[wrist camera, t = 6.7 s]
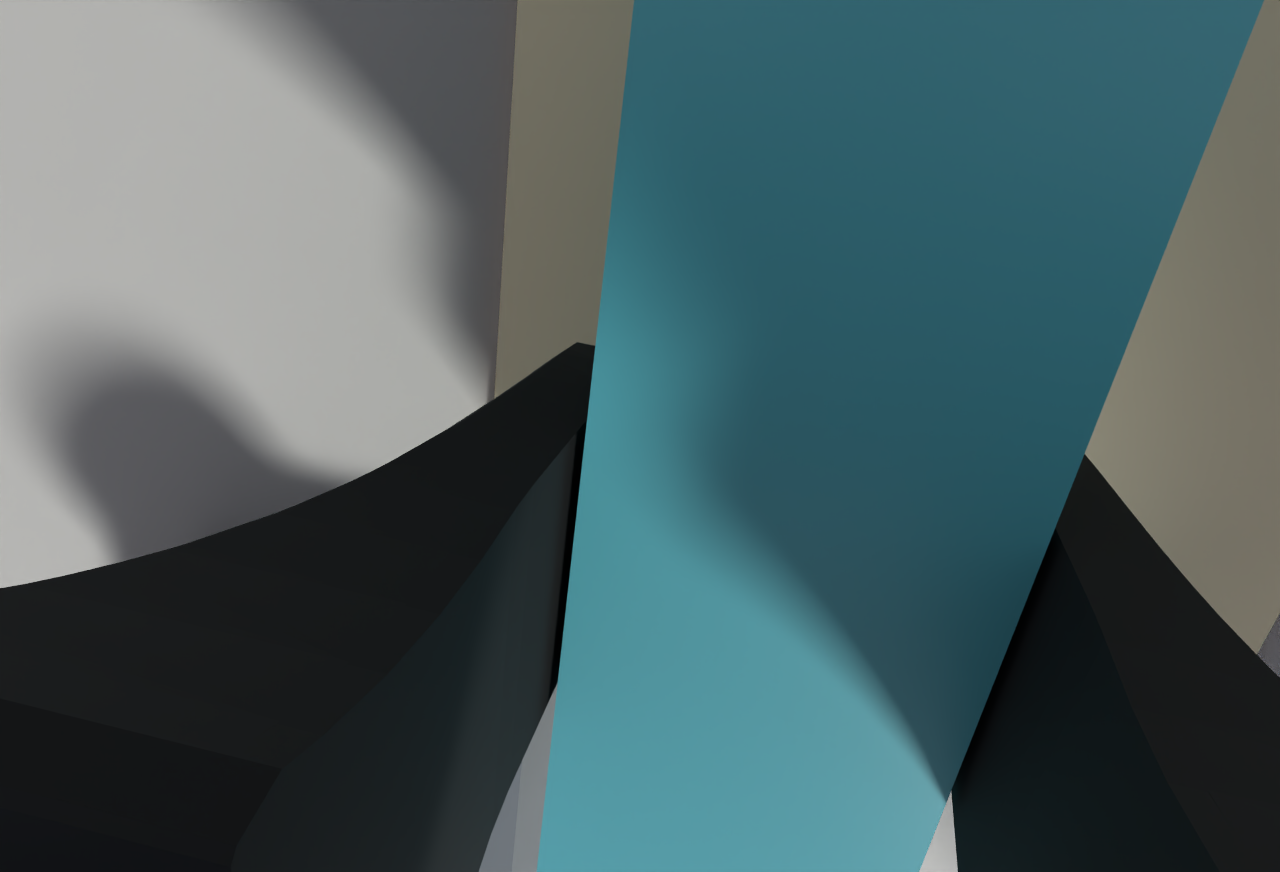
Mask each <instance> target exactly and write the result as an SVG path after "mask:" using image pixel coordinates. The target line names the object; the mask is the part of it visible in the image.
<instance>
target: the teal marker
mask: <svg viewBox="0 0 1280 872" xmlns="http://www.w3.org/2000/svg"><path fill="white" fill-rule="evenodd" d="M1263 2H1264V0H634V5H633V14H632V23H631V32H630V41H629V50H628V59H627V68H626V77H625V86H624V95H623V104H622V113H621V122H620V130H619V139H618V148H617V157H616V166H615V175H614V184H613V193H612V202H611V211H610V220H609V229H608V238H607V247H606V256H605V265H604V273H603V282H602V291H601V300H600V309H599V318H598V327H597V336H596V345H595V354H594V363H593V372H592V381H591V390H590V399H589V408H588V417H587V425H586V434H585V443H584V452H583V461H582V470H581V479H580V488H579V497H578V506H577V515H576V524H575V533H574V542H573V551H572V560H571V568H570V577H569V586H568V595H567V604H566V613H565V622H564V631H563V640H562V649H561V658H560V667H559V676H558V685H557V694H556V703H555V711H554V720H553V729H552V738H551V747H550V756H549V765H548V774H547V783H546V792H545V801H544V810H543V819H542V828H541V837H540V846H539V854H538V863H537V872H919V870H920V868H921V865H922V863H923V860H924V858H925V855H926V853H927V850H928V848H929V845H930V843H931V840H932V838H933V835H934V833H935V830H936V828H937V825H938V822H939V820H940V817H941V815H942V812H943V810H944V807H945V805H946V802H947V800H948V797H949V795H950V792H951V790H952V787H953V785H954V782H955V780H956V777H957V775H958V772H959V769H960V767H961V764H962V762H963V759H964V757H965V754H966V752H967V749H968V747H969V744H970V742H971V739H972V737H973V734H974V732H975V729H976V727H977V724H978V721H979V719H980V716H981V714H982V711H983V709H984V706H985V704H986V701H987V699H988V696H989V694H990V691H991V689H992V686H993V684H994V681H995V679H996V676H997V674H998V671H999V668H1000V666H1001V663H1002V661H1003V658H1004V656H1005V653H1006V651H1007V648H1008V646H1009V643H1010V641H1011V638H1012V636H1013V633H1014V631H1015V628H1016V626H1017V623H1018V621H1019V618H1020V615H1021V613H1022V610H1023V608H1024V605H1025V603H1026V600H1027V598H1028V595H1029V593H1030V590H1031V588H1032V585H1033V583H1034V580H1035V578H1036V575H1037V573H1038V570H1039V568H1040V565H1041V562H1042V560H1043V557H1044V555H1045V552H1046V550H1047V547H1048V545H1049V542H1050V540H1051V537H1052V535H1053V532H1054V530H1055V527H1056V525H1057V522H1058V520H1059V517H1060V514H1061V512H1062V509H1063V507H1064V504H1065V502H1066V499H1067V497H1068V494H1069V492H1070V489H1071V487H1072V484H1073V482H1074V479H1075V477H1076V474H1077V472H1078V469H1079V467H1080V464H1081V461H1082V459H1083V456H1084V454H1085V451H1086V449H1087V446H1088V444H1089V441H1090V439H1091V436H1092V434H1093V431H1094V429H1095V426H1096V424H1097V421H1098V419H1099V416H1100V414H1101V411H1102V408H1103V406H1104V403H1105V401H1106V398H1107V396H1108V393H1109V391H1110V388H1111V386H1112V383H1113V381H1114V378H1115V376H1116V373H1117V371H1118V368H1119V366H1120V363H1121V360H1122V358H1123V355H1124V353H1125V350H1126V348H1127V345H1128V343H1129V340H1130V338H1131V335H1132V333H1133V330H1134V328H1135V325H1136V323H1137V320H1138V318H1139V315H1140V313H1141V310H1142V307H1143V305H1144V302H1145V300H1146V297H1147V295H1148V292H1149V290H1150V287H1151V285H1152V282H1153V280H1154V277H1155V275H1156V272H1157V270H1158V267H1159V265H1160V262H1161V260H1162V257H1163V254H1164V252H1165V249H1166V247H1167V244H1168V242H1169V239H1170V237H1171V234H1172V232H1173V229H1174V227H1175V224H1176V222H1177V219H1178V217H1179V214H1180V212H1181V209H1182V207H1183V204H1184V201H1185V199H1186V196H1187V194H1188V191H1189V189H1190V186H1191V184H1192V181H1193V179H1194V176H1195V174H1196V171H1197V169H1198V166H1199V164H1200V161H1201V159H1202V156H1203V153H1204V151H1205V148H1206V146H1207V143H1208V141H1209V138H1210V136H1211V133H1212V131H1213V128H1214V126H1215V123H1216V121H1217V118H1218V116H1219V113H1220V111H1221V108H1222V106H1223V103H1224V100H1225V98H1226V95H1227V93H1228V90H1229V88H1230V85H1231V83H1232V80H1233V78H1234V75H1235V73H1236V70H1237V68H1238V65H1239V63H1240V60H1241V58H1242V55H1243V53H1244V50H1245V47H1246V45H1247V42H1248V40H1249V37H1250V35H1251V32H1252V30H1253V27H1254V25H1255V22H1256V20H1257V17H1258V15H1259V12H1260V10H1261V7H1262V5H1263Z"/></svg>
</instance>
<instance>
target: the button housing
mask: <svg viewBox="0 0 1280 872" xmlns="http://www.w3.org/2000/svg"><path fill="white" fill-rule="evenodd" d="M557 685H558V683H557ZM557 685H556V687H555V689H554V692H553V694H552V696H551V698H550V700H549V703H548V705H547V707H546V709H545V711H544V714H543V716H542V718H541V720H540V722H539V725H538V727H537V729H536V731H535V733H534V736H533V738H532V740H531V742H530V744H529V747H528V749H527V751H526V753H525V755H524V758H523V760H522V762H521V764H520V766H519V769H518V771H517V773H516V775H515V777H514V780H513V782H512V784H511V786H510V788H509V791H508V793H507V796H506V798H505V801H504V803H503V806H502V808H501V811H500V813H499V816H498V818H497V821H496V823H495V826H494V828H493V831H492V833H491V836H490V839H489V842H488V845H487V848H486V851H485V854H484V857H483V860H482V863H481V866H480V869H479V872H537V863H538V854H539V846H540V837H541V828H542V819H543V810H544V801H545V792H546V783H547V774H548V765H549V756H550V747H551V738H552V729H553V720H554V711H555V703H556V694H557Z"/></svg>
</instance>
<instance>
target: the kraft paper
mask: <svg viewBox="0 0 1280 872" xmlns="http://www.w3.org/2000/svg"><path fill="white" fill-rule="evenodd" d="M633 5H634V0H518V1H517V18H516V35H515V52H514V69H513V86H512V103H511V120H510V137H509V154H508V171H507V188H506V205H505V222H504V239H503V256H502V273H501V290H500V307H499V324H498V341H497V358H496V375H495V392H494V399H495V398H496V397H498V396H499V395H500V394H502V393H503V392H505V391H506V390H508V389H509V388H511V387H512V386H513V385H515V384H516V383H518V382H519V381H521V380H522V379H524V378H525V377H526V376H528V375H529V374H531V373H532V372H533V371H535V370H536V369H538V368H539V367H541V366H542V365H543V364H545V363H546V362H548V361H549V360H550V359H552V358H553V357H555V356H556V355H558V354H559V353H561V352H562V351H564V350H566V349H567V348H569V347H570V346H572V345H573V344H575V343H576V342H579V343H584V344H589V345H594V346H595V345H596V336H597V327H598V318H599V309H600V300H601V291H602V282H603V273H604V265H605V256H606V247H607V238H608V229H609V220H610V211H611V202H612V193H613V184H614V175H615V166H616V157H617V148H618V139H619V130H620V122H621V113H622V104H623V95H624V86H625V77H626V68H627V59H628V50H629V41H630V32H631V23H632V14H633ZM1085 455H1086V456H1087V457H1088V458H1089V460H1090V461H1091V462H1092V463H1093V464H1094V466H1095V467H1096V468H1097V469H1098V470H1099V472H1100V473H1101V474H1102V475H1103V477H1104V478H1105V479H1106V480H1107V482H1108V483H1109V484H1110V485H1111V487H1112V488H1113V489H1114V490H1115V492H1116V493H1117V494H1118V496H1119V497H1120V498H1121V499H1122V501H1123V502H1124V503H1125V504H1126V506H1127V507H1128V508H1129V509H1130V511H1131V512H1132V513H1133V514H1134V516H1135V517H1136V518H1137V519H1138V521H1139V522H1140V523H1141V524H1142V526H1143V527H1144V528H1145V529H1146V531H1147V532H1148V533H1149V534H1150V535H1151V537H1152V538H1153V539H1154V540H1155V542H1156V543H1157V544H1158V545H1159V546H1160V548H1161V549H1162V550H1163V551H1164V552H1165V554H1166V555H1167V556H1168V557H1169V558H1170V560H1171V561H1172V562H1173V563H1174V564H1175V566H1176V567H1177V568H1178V569H1179V570H1180V571H1181V573H1182V574H1183V575H1184V576H1185V577H1186V578H1187V580H1188V581H1189V582H1190V583H1191V584H1192V585H1193V587H1194V588H1195V589H1196V590H1197V591H1198V592H1199V593H1200V594H1201V596H1202V597H1203V598H1204V599H1205V600H1206V601H1207V602H1208V603H1209V604H1210V606H1211V607H1212V608H1213V609H1214V610H1215V611H1216V612H1217V613H1218V615H1219V616H1220V617H1221V618H1222V619H1223V620H1224V621H1225V622H1226V623H1227V624H1228V625H1229V626H1230V627H1231V628H1232V629H1233V630H1234V631H1235V632H1236V633H1237V635H1238V636H1239V637H1240V638H1241V639H1242V640H1243V641H1244V642H1245V643H1246V644H1247V645H1248V646H1249V647H1250V648H1251V649H1252V650H1253V651H1254V652H1255V653H1256V654H1257V653H1258V652H1259V650H1260V648H1261V646H1262V644H1263V643H1264V641H1265V639H1266V637H1267V635H1268V634H1269V632H1270V630H1271V628H1272V626H1273V625H1274V623H1275V621H1276V619H1277V617H1278V616H1279V614H1280V0H1264V2H1263V5H1262V7H1261V10H1260V12H1259V15H1258V17H1257V20H1256V22H1255V25H1254V27H1253V30H1252V32H1251V35H1250V37H1249V40H1248V42H1247V45H1246V47H1245V50H1244V53H1243V55H1242V58H1241V60H1240V63H1239V65H1238V68H1237V70H1236V73H1235V75H1234V78H1233V80H1232V83H1231V85H1230V88H1229V90H1228V93H1227V95H1226V98H1225V100H1224V103H1223V106H1222V108H1221V111H1220V113H1219V116H1218V118H1217V121H1216V123H1215V126H1214V128H1213V131H1212V133H1211V136H1210V138H1209V141H1208V143H1207V146H1206V148H1205V151H1204V153H1203V156H1202V159H1201V161H1200V164H1199V166H1198V169H1197V171H1196V174H1195V176H1194V179H1193V181H1192V184H1191V186H1190V189H1189V191H1188V194H1187V196H1186V199H1185V201H1184V204H1183V207H1182V209H1181V212H1180V214H1179V217H1178V219H1177V222H1176V224H1175V227H1174V229H1173V232H1172V234H1171V237H1170V239H1169V242H1168V244H1167V247H1166V249H1165V252H1164V254H1163V257H1162V260H1161V262H1160V265H1159V267H1158V270H1157V272H1156V275H1155V277H1154V280H1153V282H1152V285H1151V287H1150V290H1149V292H1148V295H1147V297H1146V300H1145V302H1144V305H1143V307H1142V310H1141V313H1140V315H1139V318H1138V320H1137V323H1136V325H1135V328H1134V330H1133V333H1132V335H1131V338H1130V340H1129V343H1128V345H1127V348H1126V350H1125V353H1124V355H1123V358H1122V360H1121V363H1120V366H1119V368H1118V371H1117V373H1116V376H1115V378H1114V381H1113V383H1112V386H1111V388H1110V391H1109V393H1108V396H1107V398H1106V401H1105V403H1104V406H1103V408H1102V411H1101V414H1100V416H1099V419H1098V421H1097V424H1096V426H1095V429H1094V431H1093V434H1092V436H1091V439H1090V441H1089V444H1088V446H1087V449H1086V451H1085Z"/></svg>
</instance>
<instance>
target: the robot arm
mask: <svg viewBox="0 0 1280 872" xmlns="http://www.w3.org/2000/svg"><path fill="white" fill-rule="evenodd" d="M594 354H595V346H594V345H589V344H584V343H579V342H576V343H575V344H573V345H572V346H570V347H569V348H567V349H566V350H564V351H562V352H561V353H559V354H558V355H556V356H555V357H553V358H552V359H550V360H549V361H548V362H546V363H545V364H543V365H542V366H541V367H539V368H538V369H536V370H535V371H533V372H532V373H531V374H529V375H528V376H526V377H525V378H524V379H522V380H521V381H519V382H518V383H516V384H515V385H513V386H512V387H511V388H509V389H508V390H506V391H505V392H503V393H502V394H500V395H499V396H498V397H496V398H495V399H493V400H492V401H490V402H488V403H487V404H485V405H484V406H482V407H481V408H479V409H478V410H476V411H475V412H473V413H472V414H470V415H469V416H467V417H465V418H464V419H462V420H461V421H459V422H458V423H456V424H455V425H453V426H452V427H450V428H448V429H447V430H445V431H443V432H442V433H440V434H438V435H436V436H435V437H433V438H431V439H429V440H428V441H426V442H424V443H422V444H421V445H419V446H417V447H415V448H414V449H412V450H410V451H408V452H407V453H405V454H403V455H401V456H400V457H398V458H396V459H394V460H393V461H391V462H389V463H387V464H385V465H383V466H381V467H379V468H377V469H375V470H373V471H371V472H369V473H367V474H365V475H363V476H361V477H359V478H357V479H355V480H353V481H351V482H349V483H346V484H344V485H342V486H340V487H337V488H335V489H333V490H330V491H328V492H326V493H324V494H321V495H319V496H317V497H314V498H312V499H310V500H307V501H305V502H303V503H300V504H298V505H296V506H293V507H291V508H288V509H286V510H283V511H281V512H278V513H275V514H272V515H269V516H266V517H263V518H261V519H258V520H255V521H252V522H249V523H246V524H243V525H240V526H237V527H234V528H231V529H228V530H226V531H223V532H220V533H217V534H214V535H211V536H208V537H205V538H202V539H199V540H196V541H193V542H191V543H188V544H184V545H181V546H178V547H174V548H171V549H167V550H164V551H160V552H156V553H153V554H149V555H146V556H142V557H138V558H135V559H131V560H127V561H124V562H120V563H116V564H112V565H107V566H103V567H99V568H95V569H91V570H86V571H82V572H78V573H74V574H70V575H65V576H61V577H56V578H52V579H47V580H42V581H37V582H33V583H28V584H23V585H17V586H11V587H6V588H0V872H479V869H480V866H481V863H482V860H483V857H484V854H485V851H486V848H487V845H488V842H489V839H490V836H491V833H492V831H493V828H494V826H495V823H496V821H497V818H498V816H499V813H500V811H501V808H502V806H503V803H504V801H505V798H506V796H507V793H508V791H509V788H510V786H511V784H512V782H513V780H514V777H515V775H516V773H517V771H518V769H519V766H520V764H521V762H522V760H523V758H524V755H525V753H526V751H527V749H528V747H529V744H530V742H531V740H532V738H533V736H534V733H535V731H536V729H537V727H538V725H539V722H540V720H541V718H542V716H543V714H544V711H545V709H546V707H547V705H548V703H549V700H550V698H551V696H552V694H553V692H554V689H555V687H556V685H557V683H558V676H559V667H560V658H561V649H562V640H563V631H564V622H565V613H566V604H567V595H568V586H569V577H570V568H571V560H572V551H573V542H574V533H575V524H576V515H577V506H578V497H579V488H580V479H581V470H582V461H583V452H584V443H585V434H586V425H587V417H588V408H589V399H590V390H591V381H592V372H593V363H594ZM951 791H952V803H953V816H954V828H955V840H956V853H957V865H958V872H1280V678H1279V677H1278V676H1277V675H1276V674H1275V673H1274V672H1273V671H1272V670H1271V669H1270V668H1269V667H1268V666H1267V665H1266V664H1265V663H1264V662H1263V661H1262V660H1261V659H1260V658H1259V657H1258V655H1257V654H1256V653H1255V652H1254V651H1253V650H1252V649H1251V648H1250V647H1249V646H1248V645H1247V644H1246V643H1245V642H1244V641H1243V640H1242V639H1241V638H1240V637H1239V636H1238V635H1237V633H1236V632H1235V631H1234V630H1233V629H1232V628H1231V627H1230V626H1229V625H1228V624H1227V623H1226V622H1225V621H1224V620H1223V619H1222V618H1221V617H1220V616H1219V615H1218V613H1217V612H1216V611H1215V610H1214V609H1213V608H1212V607H1211V606H1210V604H1209V603H1208V602H1207V601H1206V600H1205V599H1204V598H1203V597H1202V596H1201V594H1200V593H1199V592H1198V591H1197V590H1196V589H1195V588H1194V587H1193V585H1192V584H1191V583H1190V582H1189V581H1188V580H1187V578H1186V577H1185V576H1184V575H1183V574H1182V573H1181V571H1180V570H1179V569H1178V568H1177V567H1176V566H1175V564H1174V563H1173V562H1172V561H1171V560H1170V558H1169V557H1168V556H1167V555H1166V554H1165V552H1164V551H1163V550H1162V549H1161V548H1160V546H1159V545H1158V544H1157V543H1156V542H1155V540H1154V539H1153V538H1152V537H1151V535H1150V534H1149V533H1148V532H1147V531H1146V529H1145V528H1144V527H1143V526H1142V524H1141V523H1140V522H1139V521H1138V519H1137V518H1136V517H1135V516H1134V514H1133V513H1132V512H1131V511H1130V509H1129V508H1128V507H1127V506H1126V504H1125V503H1124V502H1123V501H1122V499H1121V498H1120V497H1119V496H1118V494H1117V493H1116V492H1115V490H1114V489H1113V488H1112V487H1111V485H1110V484H1109V483H1108V482H1107V480H1106V479H1105V478H1104V477H1103V475H1102V474H1101V473H1100V472H1099V470H1098V469H1097V468H1096V467H1095V466H1094V464H1093V463H1092V462H1091V461H1090V460H1089V458H1088V457H1087V456H1086V455H1085V454H1084V456H1083V459H1082V461H1081V464H1080V467H1079V469H1078V472H1077V474H1076V477H1075V479H1074V482H1073V484H1072V487H1071V489H1070V492H1069V494H1068V497H1067V499H1066V502H1065V504H1064V507H1063V509H1062V512H1061V514H1060V517H1059V520H1058V522H1057V525H1056V527H1055V530H1054V532H1053V535H1052V537H1051V540H1050V542H1049V545H1048V547H1047V550H1046V552H1045V555H1044V557H1043V560H1042V562H1041V565H1040V568H1039V570H1038V573H1037V575H1036V578H1035V580H1034V583H1033V585H1032V588H1031V590H1030V593H1029V595H1028V598H1027V600H1026V603H1025V605H1024V608H1023V610H1022V613H1021V615H1020V618H1019V621H1018V623H1017V626H1016V628H1015V631H1014V633H1013V636H1012V638H1011V641H1010V643H1009V646H1008V648H1007V651H1006V653H1005V656H1004V658H1003V661H1002V663H1001V666H1000V668H999V671H998V674H997V676H996V679H995V681H994V684H993V686H992V689H991V691H990V694H989V696H988V699H987V701H986V704H985V706H984V709H983V711H982V714H981V716H980V719H979V721H978V724H977V727H976V729H975V732H974V734H973V737H972V739H971V742H970V744H969V747H968V749H967V752H966V754H965V757H964V759H963V762H962V764H961V767H960V769H959V772H958V775H957V777H956V780H955V782H954V785H953V787H952V790H951Z"/></svg>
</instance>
